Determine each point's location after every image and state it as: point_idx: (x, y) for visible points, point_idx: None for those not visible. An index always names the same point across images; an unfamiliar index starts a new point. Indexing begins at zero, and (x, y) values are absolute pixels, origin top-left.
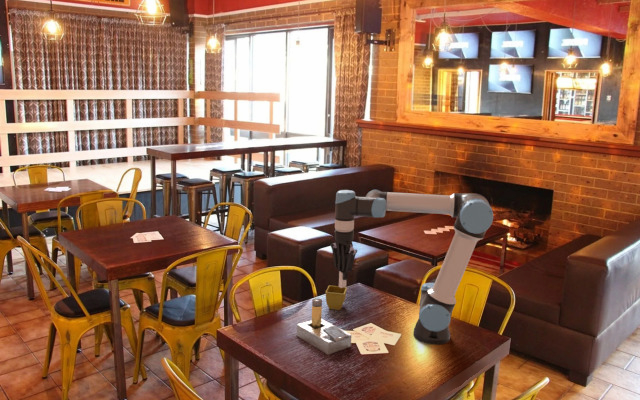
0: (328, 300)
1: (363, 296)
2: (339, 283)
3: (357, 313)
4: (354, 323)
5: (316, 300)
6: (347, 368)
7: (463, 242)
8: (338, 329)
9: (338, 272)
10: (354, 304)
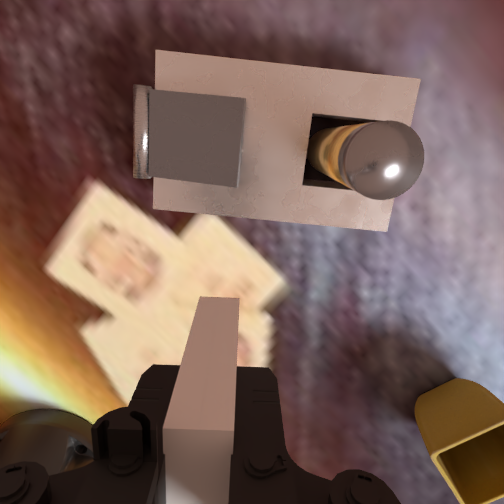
0: (477, 394)
1: None
2: (229, 317)
3: (348, 420)
4: (299, 354)
5: (387, 155)
6: (26, 33)
7: None
8: (200, 173)
9: (277, 424)
10: (406, 464)
